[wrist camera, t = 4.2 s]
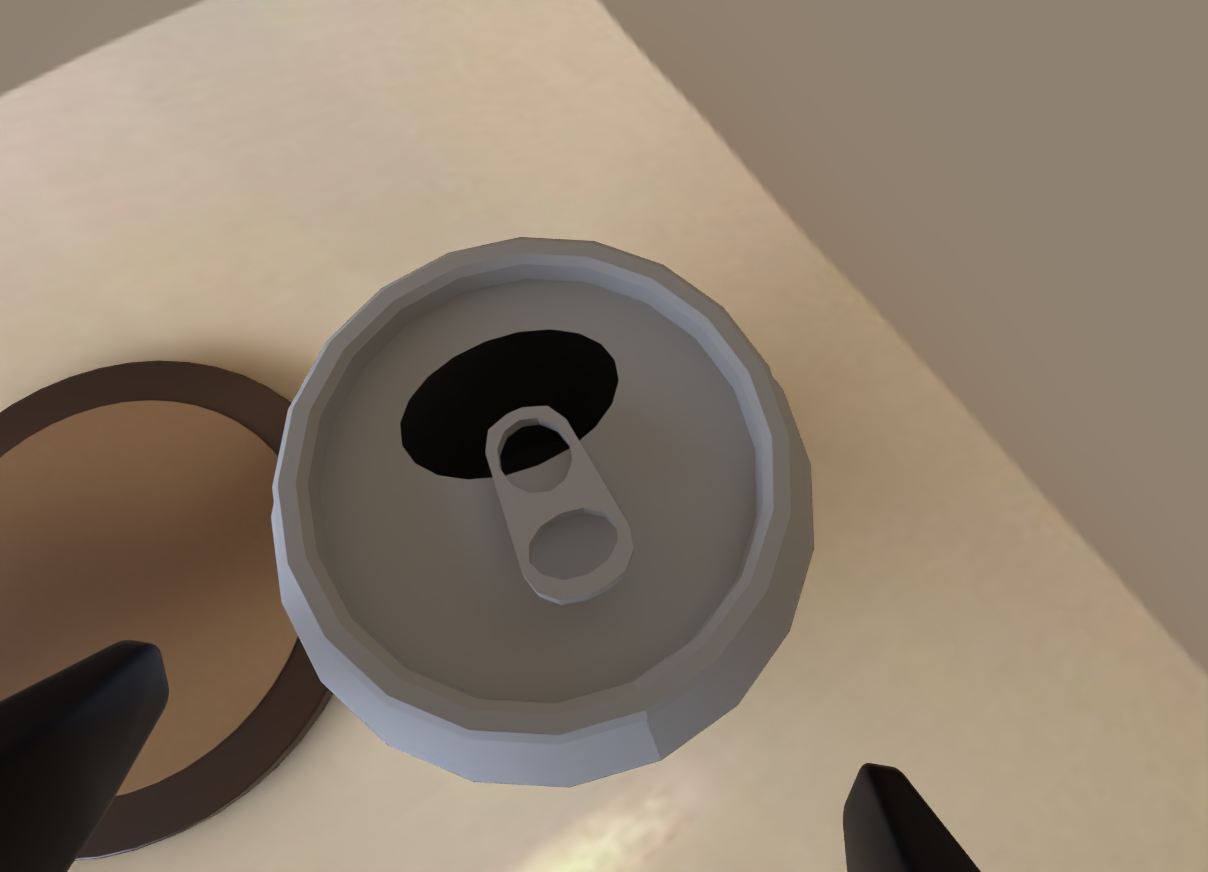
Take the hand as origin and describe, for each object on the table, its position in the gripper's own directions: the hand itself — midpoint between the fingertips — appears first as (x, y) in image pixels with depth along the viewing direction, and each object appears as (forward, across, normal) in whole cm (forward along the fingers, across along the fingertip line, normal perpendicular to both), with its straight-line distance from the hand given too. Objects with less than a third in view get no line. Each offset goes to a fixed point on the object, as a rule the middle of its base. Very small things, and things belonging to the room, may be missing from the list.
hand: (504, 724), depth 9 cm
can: (+10, 0, +5) cm, 11 cm away
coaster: (+8, +12, +7) cm, 16 cm away
